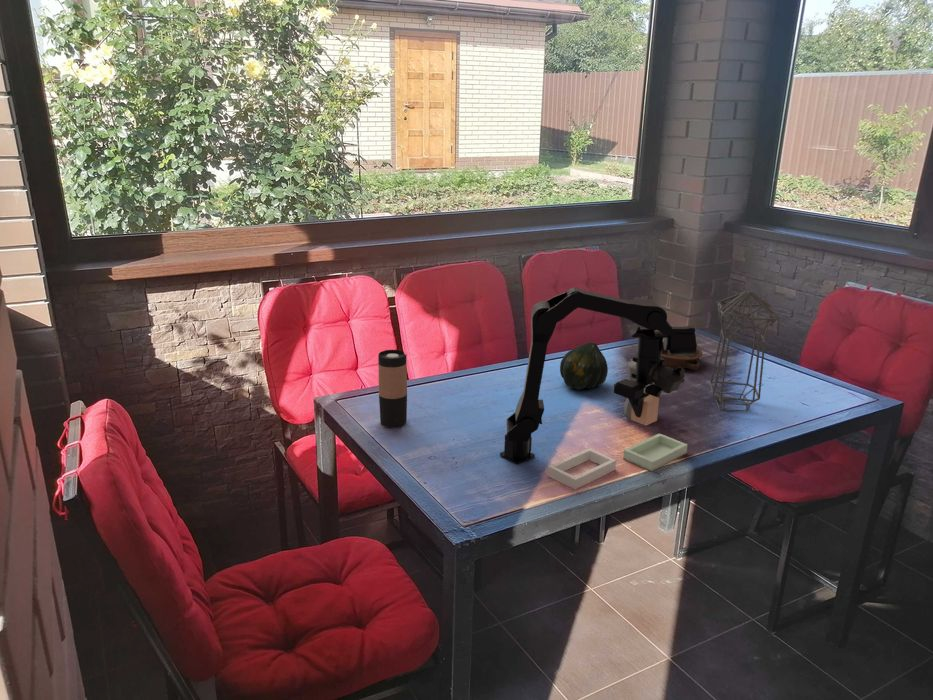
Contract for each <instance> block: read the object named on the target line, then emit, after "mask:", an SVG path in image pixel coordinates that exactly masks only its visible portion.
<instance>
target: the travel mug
mask: <svg viewBox="0 0 933 700" xmlns="http://www.w3.org/2000/svg"><path fill="white" fill-rule="evenodd" d="M377 357H378V359H377V362H378V368H377V369H378V403H379V417H380V420H379V421H380V425H381V426H383V427H385V428H389V429H398V428H401V427H403V426H405V425H406V424H407V418H408V417H407V416H408V415H407V414H408V413H407V412H408V380H407V379H408V377H407V376H408V375H407V373H408V371H407V370H408V369H407V363H408V362H407V354H405V352H404V351H403V350H399V349H385V350H383V351H380V352H379V353H378V355H377Z"/></svg>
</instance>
